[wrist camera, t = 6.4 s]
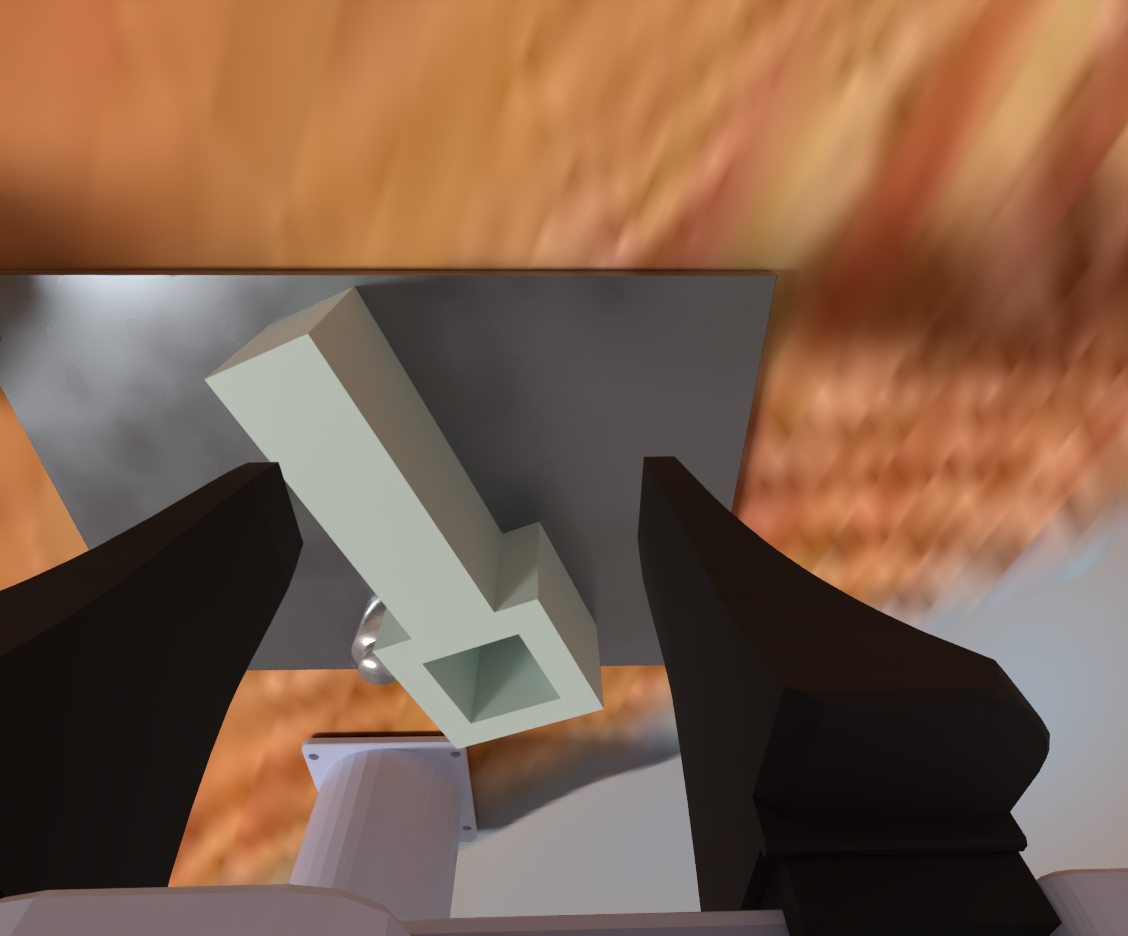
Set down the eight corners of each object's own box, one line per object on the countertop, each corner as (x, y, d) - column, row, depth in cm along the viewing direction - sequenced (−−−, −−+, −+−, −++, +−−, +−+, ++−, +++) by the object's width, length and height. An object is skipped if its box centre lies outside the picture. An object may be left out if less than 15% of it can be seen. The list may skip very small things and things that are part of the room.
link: (596, 626, 25) (603, 709, 22) (468, 664, 26) (457, 749, 23) (399, 265, 17) (362, 309, 14) (227, 343, 18) (155, 401, 15)
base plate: (699, 653, 27) (701, 664, 27) (162, 660, 27) (154, 671, 26) (770, 270, 18) (776, 275, 18) (-42, 269, 18) (-60, 274, 17)
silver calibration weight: (431, 620, 26) (416, 691, 23) (375, 621, 26) (352, 692, 23) (425, 578, 24) (407, 648, 21) (365, 579, 24) (339, 649, 21)
